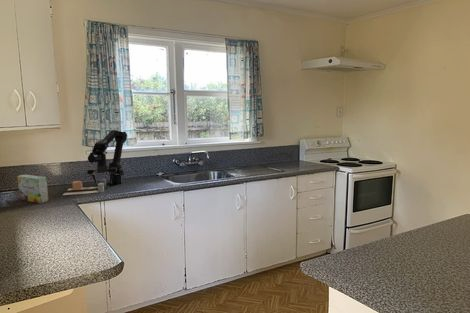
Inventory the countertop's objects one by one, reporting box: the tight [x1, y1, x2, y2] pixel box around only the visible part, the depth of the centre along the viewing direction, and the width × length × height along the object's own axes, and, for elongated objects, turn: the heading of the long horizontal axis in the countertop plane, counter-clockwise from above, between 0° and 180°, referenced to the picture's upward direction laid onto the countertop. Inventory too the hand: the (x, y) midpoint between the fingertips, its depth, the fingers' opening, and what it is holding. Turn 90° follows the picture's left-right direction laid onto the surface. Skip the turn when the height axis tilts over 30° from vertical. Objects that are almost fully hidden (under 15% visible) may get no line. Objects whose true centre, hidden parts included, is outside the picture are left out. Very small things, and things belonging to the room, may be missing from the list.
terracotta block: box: [71, 180, 83, 191], centre depth 224 cm, size 5×5×5 cm
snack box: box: [16, 174, 50, 204], centre depth 199 cm, size 21×6×15 cm, turn 62°
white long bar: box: [62, 182, 105, 196], centre depth 214 cm, size 24×6×6 cm, turn 105°
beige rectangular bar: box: [67, 178, 107, 192], centre depth 226 cm, size 24×6×6 cm, turn 105°
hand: (103, 183), depth 229 cm, fingers open, 9 cm apart
